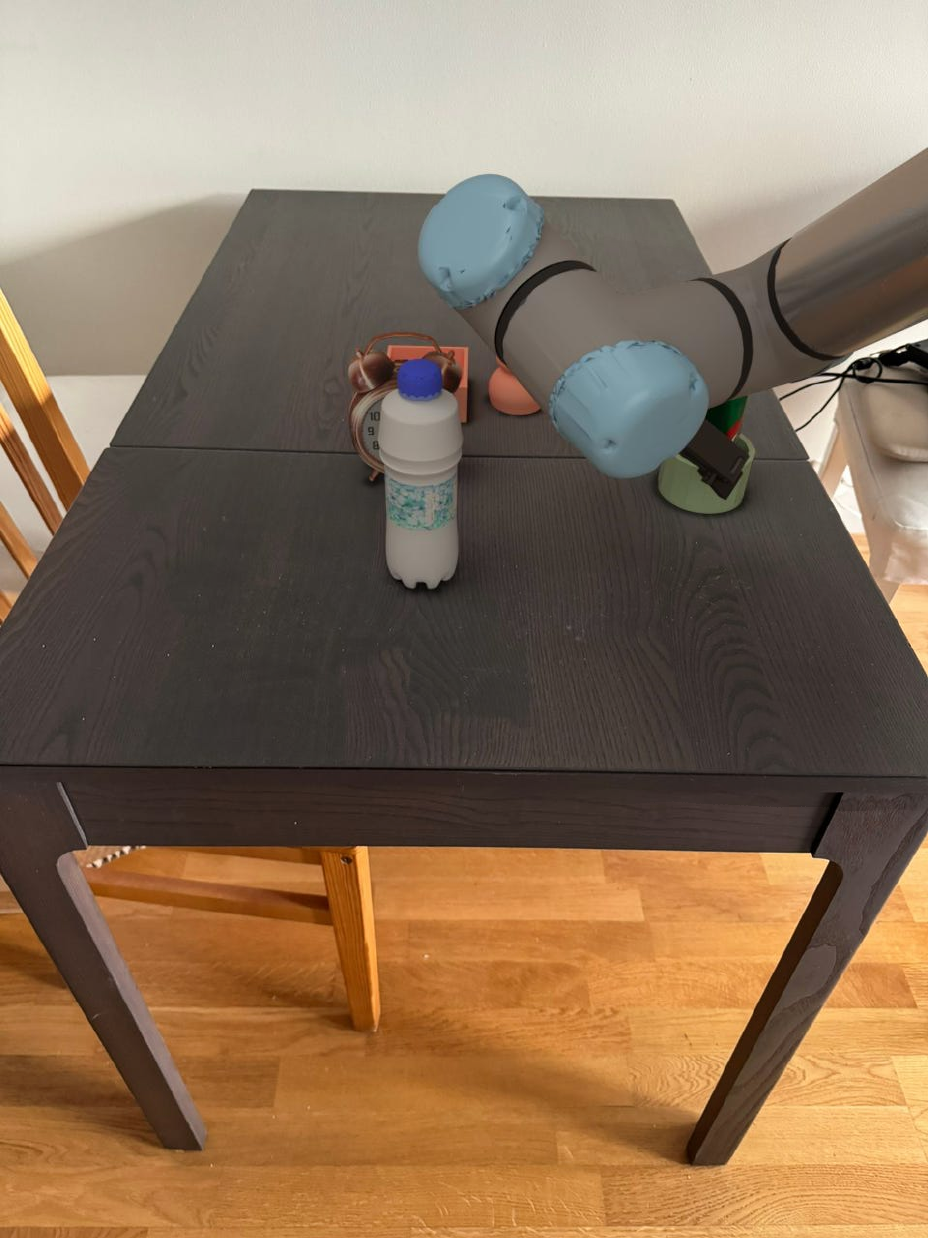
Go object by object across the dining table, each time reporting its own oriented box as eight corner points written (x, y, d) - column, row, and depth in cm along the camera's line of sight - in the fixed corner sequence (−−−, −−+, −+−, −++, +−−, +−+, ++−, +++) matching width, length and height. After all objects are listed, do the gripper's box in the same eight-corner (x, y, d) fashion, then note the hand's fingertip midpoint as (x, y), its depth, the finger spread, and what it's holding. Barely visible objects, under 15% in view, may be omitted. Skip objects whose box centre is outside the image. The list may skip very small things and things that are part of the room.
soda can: (721, 470, 94) (747, 359, 86) (731, 498, 90) (759, 386, 82) (671, 468, 94) (692, 358, 86) (679, 497, 90) (702, 384, 82)
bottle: (472, 587, 80) (478, 375, 67) (398, 605, 78) (390, 390, 65) (444, 543, 85) (445, 336, 72) (374, 558, 83) (362, 349, 70)
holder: (749, 477, 94) (761, 433, 91) (735, 522, 88) (747, 477, 85) (668, 459, 96) (676, 416, 93) (649, 501, 91) (656, 457, 87)
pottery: (383, 420, 101) (379, 335, 95) (389, 379, 108) (386, 296, 102) (548, 424, 101) (555, 339, 95) (543, 382, 108) (550, 300, 102)
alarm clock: (352, 487, 91) (341, 344, 81) (353, 460, 95) (342, 320, 85) (462, 484, 92) (464, 342, 82) (458, 458, 96) (461, 319, 86)
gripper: (426, 334, 73) (543, 435, 90) (687, 463, 59) (763, 552, 77) (477, 249, 72) (584, 368, 90) (752, 360, 58) (814, 474, 76)
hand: (667, 453), depth 83 cm, fingers open, 13 cm apart
